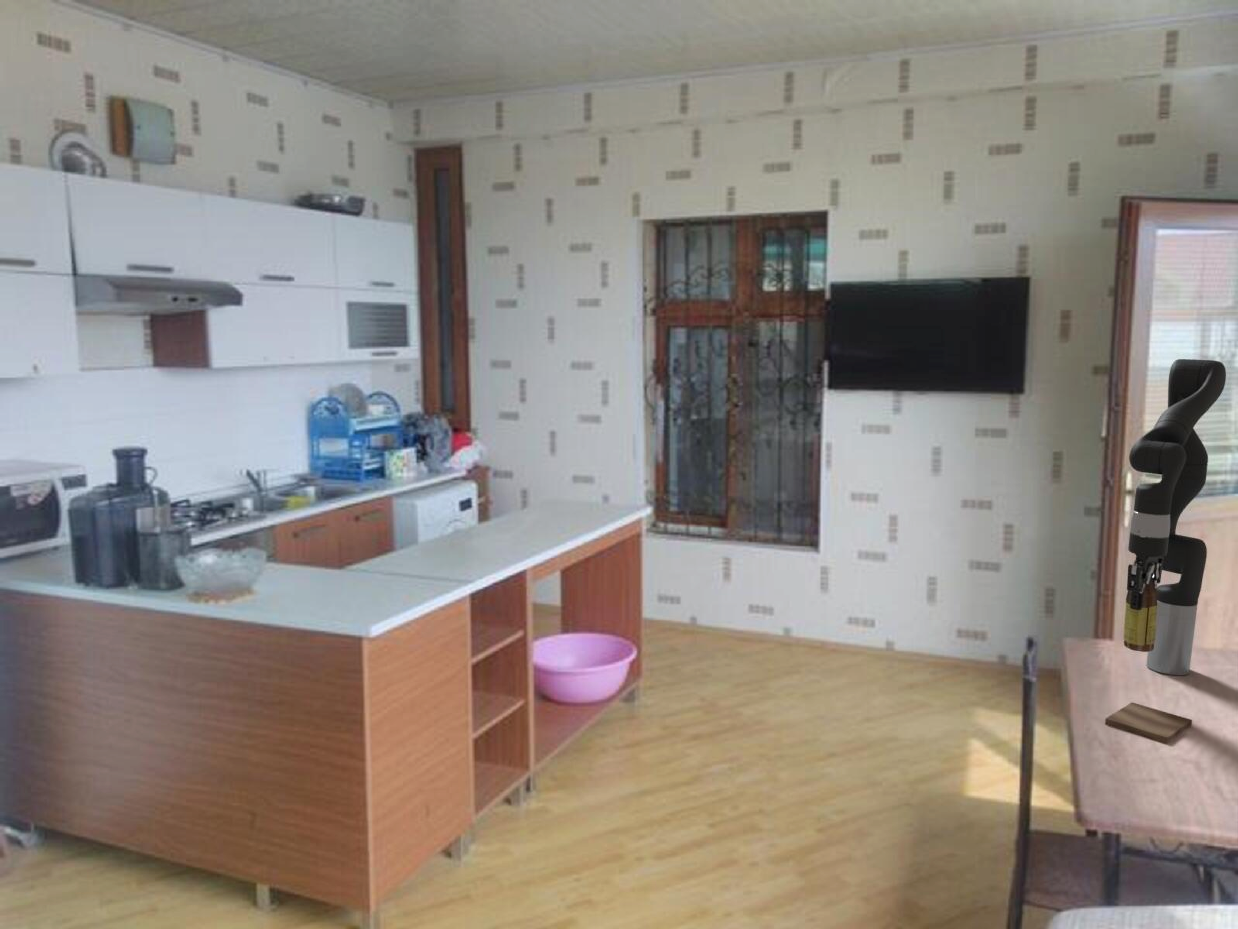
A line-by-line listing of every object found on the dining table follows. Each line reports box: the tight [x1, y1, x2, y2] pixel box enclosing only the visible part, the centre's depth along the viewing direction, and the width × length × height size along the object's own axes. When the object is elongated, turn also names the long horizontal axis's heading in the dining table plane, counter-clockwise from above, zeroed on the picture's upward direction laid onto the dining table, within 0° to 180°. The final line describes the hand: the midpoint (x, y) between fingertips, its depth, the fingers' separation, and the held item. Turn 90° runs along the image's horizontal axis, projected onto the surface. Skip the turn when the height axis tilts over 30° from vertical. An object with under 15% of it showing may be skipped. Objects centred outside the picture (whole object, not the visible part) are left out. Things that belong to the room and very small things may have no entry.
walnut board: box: [1104, 702, 1193, 744], centre depth 205 cm, size 14×12×1 cm
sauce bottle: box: [1122, 562, 1158, 653], centre depth 216 cm, size 7×6×20 cm
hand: (1141, 606), depth 216 cm, fingers closed on sauce bottle, 6 cm apart
